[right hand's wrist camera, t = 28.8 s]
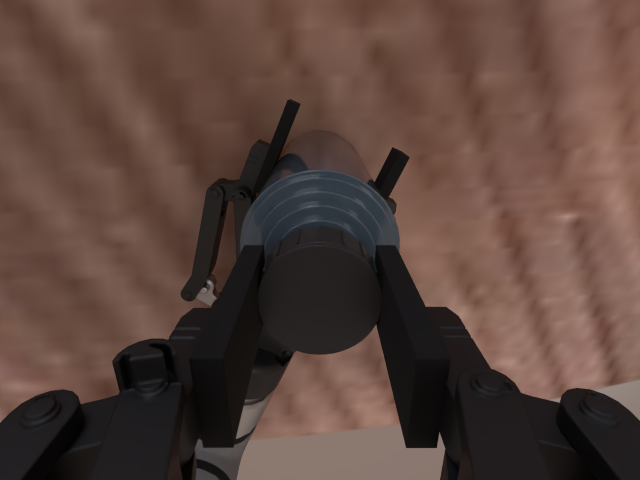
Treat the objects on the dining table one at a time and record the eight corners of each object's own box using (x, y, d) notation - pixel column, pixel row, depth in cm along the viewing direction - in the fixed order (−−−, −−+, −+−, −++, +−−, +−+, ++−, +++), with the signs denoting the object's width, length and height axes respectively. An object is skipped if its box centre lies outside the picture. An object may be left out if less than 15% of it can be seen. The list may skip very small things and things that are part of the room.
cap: (308, 343, 16) (306, 375, 14) (239, 266, 14) (228, 291, 13) (397, 289, 15) (407, 316, 13) (332, 201, 13) (334, 218, 12)
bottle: (299, 225, 35) (273, 396, 15) (263, 152, 32) (178, 244, 13) (373, 194, 34) (447, 336, 14) (342, 116, 31) (380, 157, 12)
